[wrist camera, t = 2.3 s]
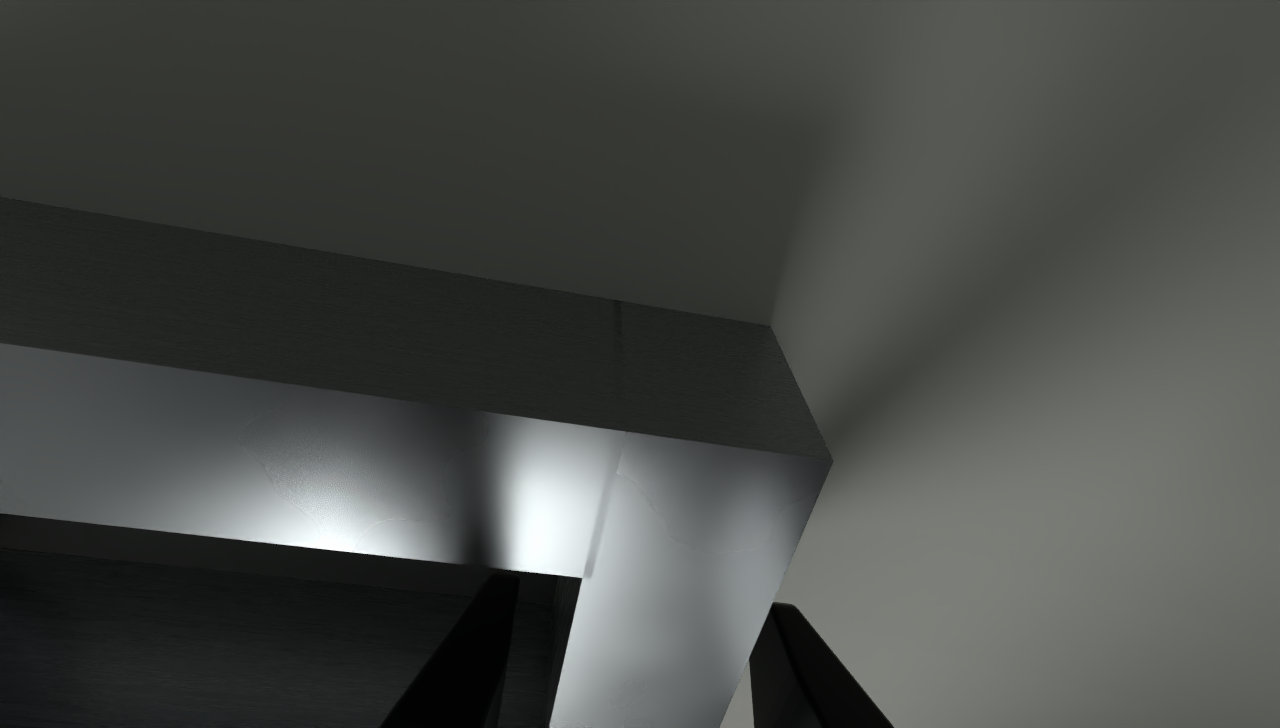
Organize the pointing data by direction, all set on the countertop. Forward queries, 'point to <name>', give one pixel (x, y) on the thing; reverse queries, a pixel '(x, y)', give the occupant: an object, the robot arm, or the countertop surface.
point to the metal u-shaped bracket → (377, 481)
